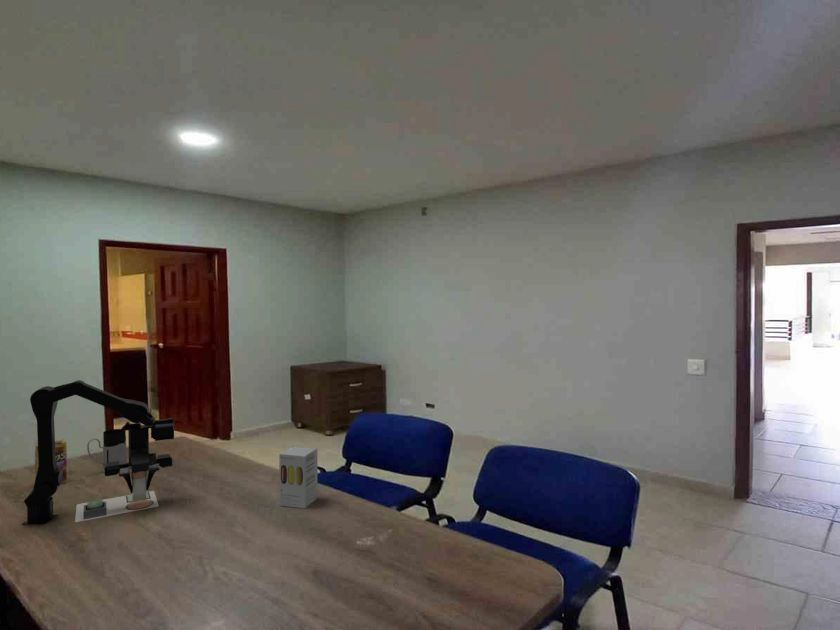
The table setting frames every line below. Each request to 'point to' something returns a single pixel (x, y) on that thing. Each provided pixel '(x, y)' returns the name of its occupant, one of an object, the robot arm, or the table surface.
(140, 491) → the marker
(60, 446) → the candy box
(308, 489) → the supplement box
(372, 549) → the table surface
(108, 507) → the picture board
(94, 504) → the button
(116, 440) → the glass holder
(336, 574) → the table surface
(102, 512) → the button housing
